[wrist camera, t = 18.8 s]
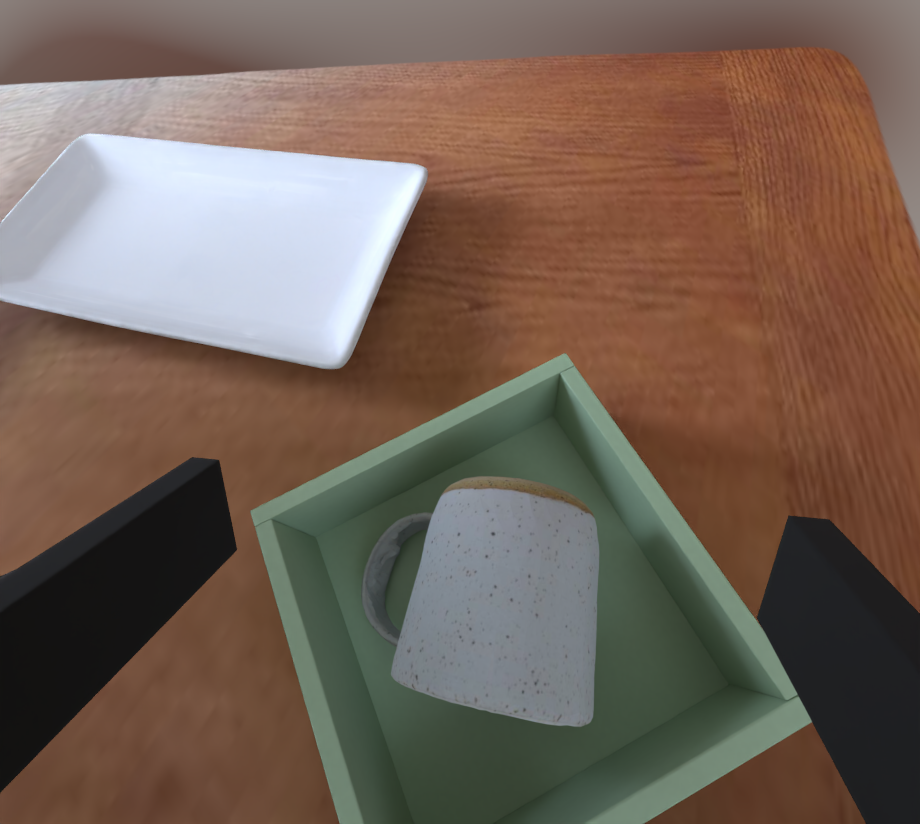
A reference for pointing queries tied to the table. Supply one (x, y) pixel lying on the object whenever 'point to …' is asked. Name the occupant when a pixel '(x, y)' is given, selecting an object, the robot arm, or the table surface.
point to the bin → (617, 637)
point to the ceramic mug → (497, 600)
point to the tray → (210, 243)
